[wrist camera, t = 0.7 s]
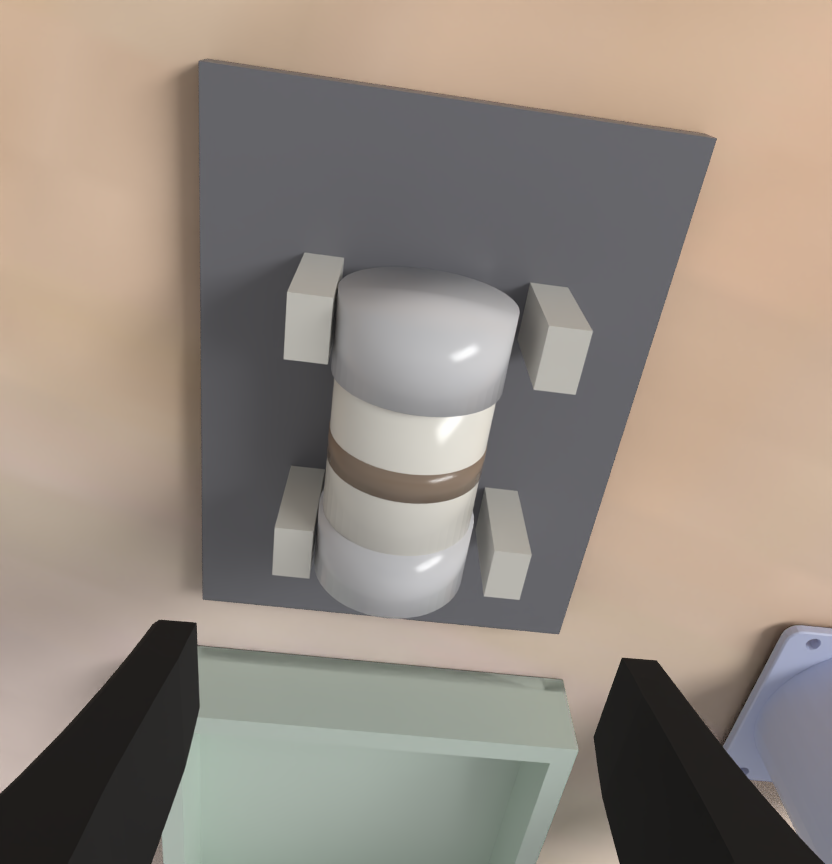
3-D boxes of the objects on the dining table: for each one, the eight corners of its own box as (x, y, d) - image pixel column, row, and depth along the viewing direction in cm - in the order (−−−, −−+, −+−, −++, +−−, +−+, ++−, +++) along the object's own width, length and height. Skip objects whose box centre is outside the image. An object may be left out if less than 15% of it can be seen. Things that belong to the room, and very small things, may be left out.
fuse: (519, 284, 19) (520, 346, 15) (465, 534, 23) (456, 631, 19) (357, 256, 19) (319, 311, 15) (332, 509, 23) (296, 601, 19)
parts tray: (562, 679, 27) (578, 750, 25) (492, 889, 34) (498, 962, 32) (180, 644, 26) (154, 713, 24) (186, 867, 33) (167, 940, 31)
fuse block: (705, 133, 18) (771, 161, 15) (554, 617, 26) (576, 706, 23) (207, 58, 17) (158, 70, 14) (208, 582, 25) (177, 669, 22)
